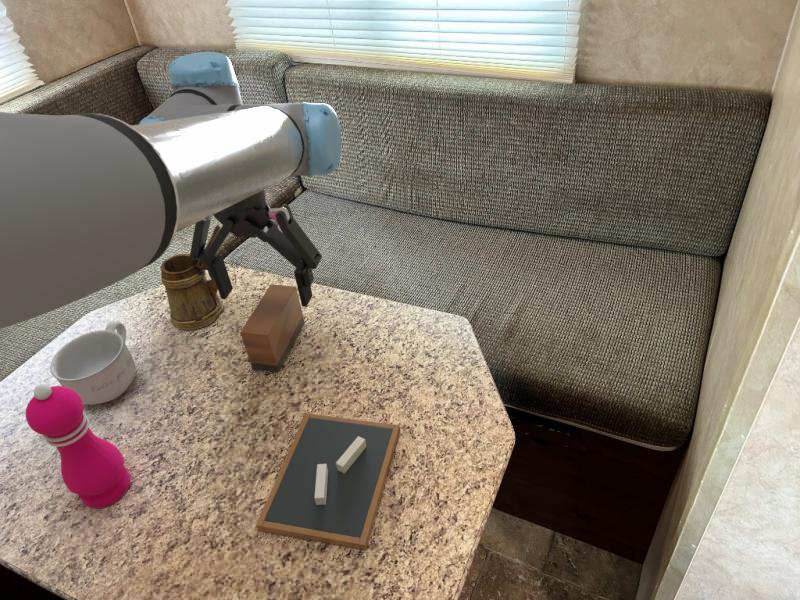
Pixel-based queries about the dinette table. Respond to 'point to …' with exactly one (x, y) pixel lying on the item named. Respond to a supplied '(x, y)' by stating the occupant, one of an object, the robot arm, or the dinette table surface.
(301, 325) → the eraser
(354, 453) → the white chalk stick
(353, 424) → the chalkboard
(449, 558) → the dinette table surface
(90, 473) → the pepper mill
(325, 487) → the white rectangular bar
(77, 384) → the teacup
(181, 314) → the wooden mug
